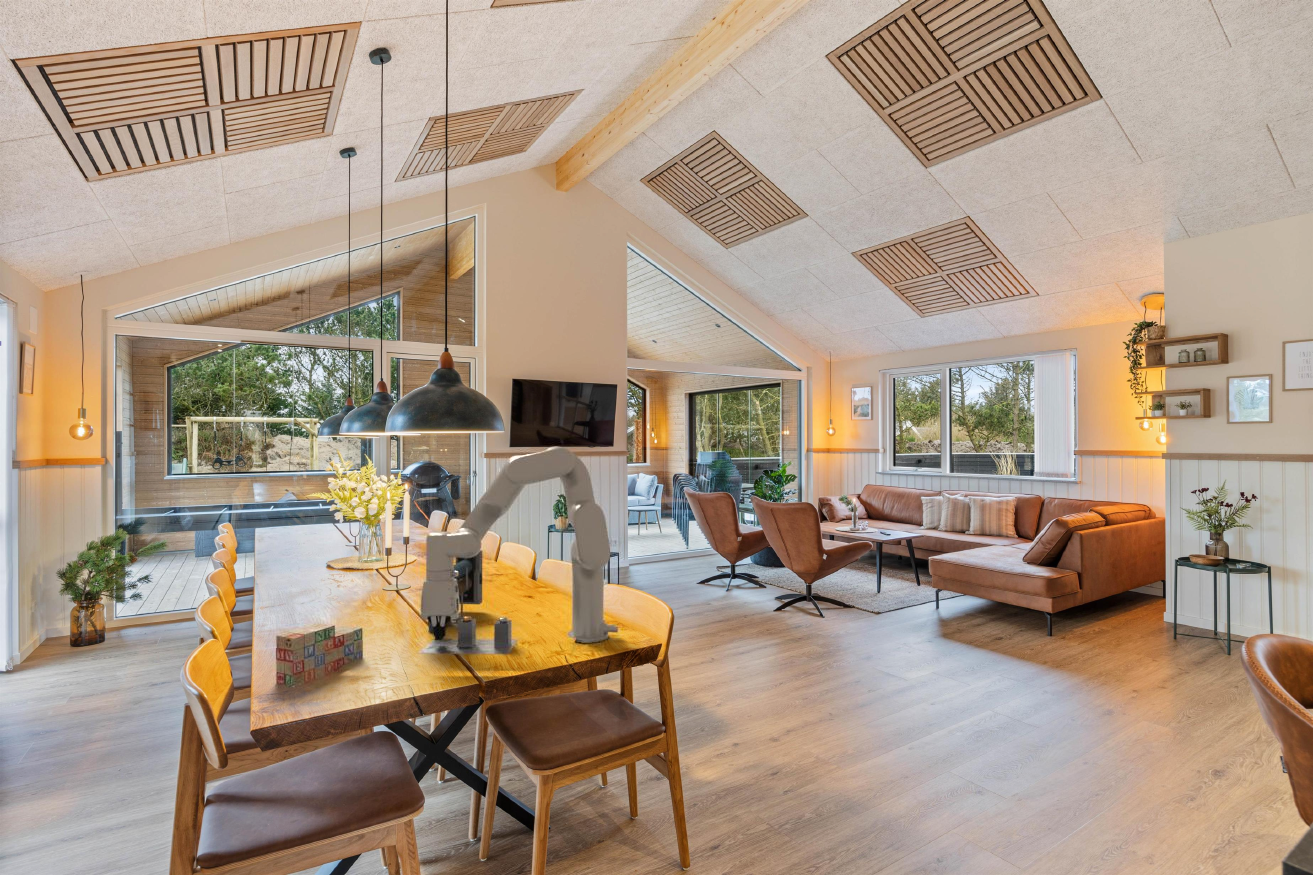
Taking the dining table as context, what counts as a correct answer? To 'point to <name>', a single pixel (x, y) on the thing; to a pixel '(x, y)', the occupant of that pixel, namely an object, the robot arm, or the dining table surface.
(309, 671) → the stack of blocks
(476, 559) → the curved pipe assembly
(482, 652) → the hole plate
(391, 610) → the dining table surface
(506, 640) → the fixed leg
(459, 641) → the block
